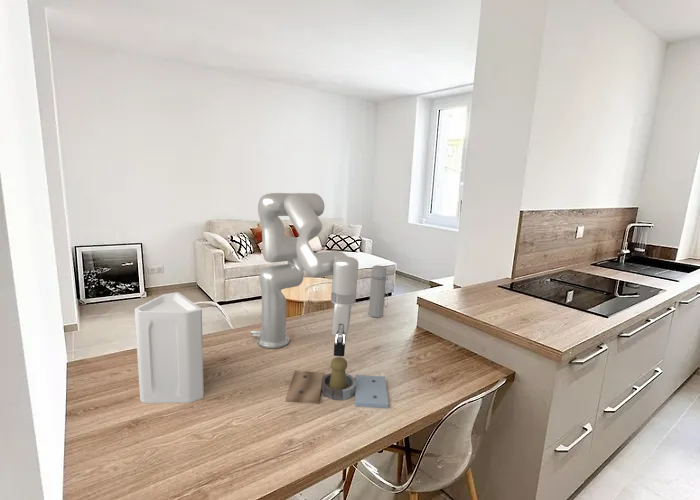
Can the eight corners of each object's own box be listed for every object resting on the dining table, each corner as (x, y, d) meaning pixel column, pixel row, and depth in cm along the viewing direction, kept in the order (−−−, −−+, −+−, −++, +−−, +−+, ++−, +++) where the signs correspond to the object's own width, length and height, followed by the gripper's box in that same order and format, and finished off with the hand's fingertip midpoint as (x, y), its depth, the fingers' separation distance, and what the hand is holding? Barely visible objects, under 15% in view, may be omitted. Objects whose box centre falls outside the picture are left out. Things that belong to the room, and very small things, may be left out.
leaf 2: (340, 405, 113) (341, 396, 112) (342, 376, 128) (343, 368, 128) (388, 408, 113) (388, 399, 112) (384, 379, 128) (385, 371, 128)
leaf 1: (285, 401, 113) (286, 392, 112) (294, 373, 129) (294, 365, 128) (341, 405, 113) (341, 396, 112) (343, 377, 128) (343, 369, 128)
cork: (349, 388, 122) (351, 357, 120) (343, 398, 117) (345, 365, 114) (332, 383, 124) (333, 353, 122) (325, 393, 118) (326, 361, 116)
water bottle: (367, 317, 183) (371, 268, 178) (369, 311, 191) (372, 264, 186) (386, 319, 182) (390, 270, 177) (387, 314, 189) (391, 266, 184)
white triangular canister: (131, 386, 116) (125, 300, 110) (180, 371, 126) (177, 291, 120) (151, 417, 103) (146, 321, 97) (204, 397, 113) (202, 309, 107)
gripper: (333, 287, 123) (330, 335, 127) (329, 306, 106) (325, 361, 110) (356, 288, 123) (352, 336, 127) (355, 308, 106) (350, 363, 110)
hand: (339, 348), depth 118 cm, fingers open, 9 cm apart
